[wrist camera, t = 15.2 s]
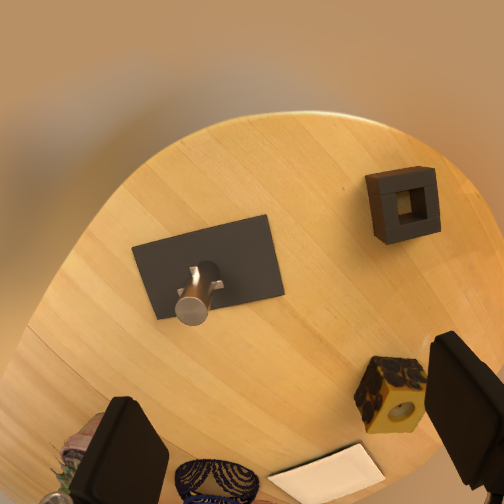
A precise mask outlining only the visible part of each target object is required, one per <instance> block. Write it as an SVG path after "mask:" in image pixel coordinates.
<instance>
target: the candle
mask: <svg viewBox="0 0 504 504" xmlns="http://www.w3.org/2000/svg"><path fill="white" fill-rule="evenodd" d="M426 384H427V374H426V373H425V370H424V369H423V367H422V365H420V364H419V363H418V361H417V360H416V359H402V358H389V357H378V356H374V357H372V359H371V361H370V364H369V365H368V367H367V370H366V372H365V374H364V377H363V378H362V381H361V383H360V385H359V387H358V389H357V391H356V394H355V395H354V400H355V403H356V406H357V408H358V410H359V412H360V414H361V416H362V421H363V422H364V424H365V429H366V433H368V434H375V433H411V432H413V431H414V430H415V428H416V426H417V425H418V423H419V422H420V420H421V418H422V417H423V415H424V413H425V412H426V410H425V406H424V399H425V392H426Z"/></svg>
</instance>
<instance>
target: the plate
mask: <svg viewBox="0 0 504 504" xmlns="http://www.w3.org/2000/svg"><path fill="white" fill-rule="evenodd" d="M268 479H269V480H271V481H272V482H273V483H274V484H276V485H277V486H278V487H280V488H281V489H282V490H284V491H285V492H286V493H288V494H289V495H290V496H292V497H293V498H295V499H296V500H297V501H299V502H300V503H302V504H323V503H326V502H329V501H332V500H335V499H337V498H340V497H343V496H346V495H348V494H351V493H354V492H356V491H359V490H361V489H364V488H366V487H369V486H371V485H373V484H376V483H378V482H380V481H383V480H384V479H385V477H384V476H383V474H382V473H381V472H380V470H379V469H378V468H377V466H376V465H375V463H374V462H373V461H372V459H371V458H370V457H369V455H368V454H367V452H366V451H365V450H364V448H363V447H362V445H361V444H355V445H353V446H350V447H348V448H346V449H344V450H341V451H339V452H336V453H334V454H332V455H329V456H327V457H324V458H321V459H319V460H316V461H314V462H311V463H308V464H305V465H303V466H300V467H297V468H294V469H291V470H288V471H285V472H282V473H279V474H275V475H272V476H270V477H268Z"/></svg>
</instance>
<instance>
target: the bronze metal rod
mask: <svg viewBox="0 0 504 504" xmlns="http://www.w3.org/2000/svg"><path fill="white" fill-rule="evenodd" d="M190 271H191V276H190V278H189V280H188V282H187V284H186V286H185V288H180V289H177V291H178V294H179V297H180V298H179V300H178V302H177V304H176V307H175V313H176V315H177V317H178V319H179V320H180V321H181V322H182V323H184V324H186V325H190V326H197V325H200V324H202V323H203V322H204V321H205V320H206V318H207V315H208V311H209V309H211V307H210V305H211V301H212V298H213V294H214V291H215V289H219V288H224V284H223V281H222V280H218V277H219V269H218V267H217V266H216V265H215V264H214V263H213V262H211V261H201V262H199V263H198V264H197V265H196V266H192V267H190Z"/></svg>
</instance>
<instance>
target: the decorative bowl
mask: <svg viewBox="0 0 504 504" xmlns="http://www.w3.org/2000/svg"><path fill="white" fill-rule="evenodd" d="M210 461H211V464H210ZM194 462H195V464H194V466H193V463H194ZM198 462H200V463H198ZM207 462H208V463H207ZM215 462H216V463H218V465H219V466H218V469H217V470H219V471H220V474H221V475H220V478H222V479H223V480H224V481H223V482H224V484H225V485H227V487H228V488H230V489H233V490H236V491H238V492H240V493H242V494H243V495H239V494H237V493H234V492H230V491H228V489H226V487H224V486H223V482H222V481H221V479H220V478H219V477H218V476H219V475H218V473H217V472H215V470H216V465H215ZM221 462H222V465H223V466H225V467H224V469H225V470H226V473H227V474H228V475H229V478H230V479H231V480H230V481H231V482H233V484H234V485H235V486H236V487H239V488H241V489H243V490H244V489H245V490H246V489H248V490H249V489H252V488H254V489H253V490H251V491H245V492H244V491H240V490H237V489H235V488H234V487H233V486H232V484H230V482H229V481H228V480H227V478H226V477H225V475H224V474H222V473H223V471H222V470H223V469H221V468H222V465H221ZM201 463H202V464H201ZM206 463H207V466H206V469H207V470H205V471H204V474H203V475H202V477H201V478H202V479H201V480H199V481H198V482H197V483H195V481H196V479H198V478H199V476H200V475H201V473H202V471H203V469H204V467H205V465H206ZM228 463H229V464H230V467H231V469H232V472H233V473H234V475H235V476H236V477H237V478H238V480H241V481H243V482H245V483H246V482H247V483H248V482H251V481H253V480H254V482H253V483H252V485H250V486H242V485H238V483H237V482H236V481H235V480H234V479H233V478H232V477H233V476H232V474H231V473H230V472H229V471H228V469H229V468H227V467H228V466H226V465H227V464H228ZM198 464H199V466H198V468H197V465H198ZM212 464H213V465H212ZM185 465H186V467H185V469H182V468H183V466H185ZM235 465H236V467H237V470H238V471H239V473H240V474H241V475H243V476H245V477H247V478H248V477H251V475H252V474H253V475H252V477H251V478H250V479H248V480H244V479H242V478H240V477H239V476H238V475H237V473H235V470H234V469H233V468H234V466H235ZM192 466H193V468H192ZM200 466H202V467H200ZM210 466H212V468H213V470H212V472H213V474H214V475H213V476H214V478H215V479H216V482H217V483H218V485H219V486H220V487H222V488H223V490H224V491H225V492H229V493H230V494H231V495H234V496H236V497H229V498H228V497H224V496H223V497H222V496H217V495H216V496H215V495H207V494H206V495H203V494H201V493H197V492H195V490H196V489H197V488H198V487H200V485H201V484H203V482H204V481H205V479H206V478H207V476H208V475H207V474H209V472H210V470H211V468H210ZM241 467H242V468H244V469H246V470H248V472H247V473H244V472H243V471H242V469H241ZM191 468H192V470H191ZM196 468H197V470H196V471H195V472H194V474H193V476H195V475H196V476H195V477H194V478H193V476H191V478H189V479H188V480H184V479H186V478H187V477H189V476H190V475H192V472H193V471H194V470H195V469H196ZM189 470H191V472H190V473H188V472H189ZM198 470H199V471H200V472H199V473H197V474H196V472H198ZM207 472H208V473H207ZM187 473H188V475H187V476H185V477H183V478H180V477H182V476H184V475H186V474H187ZM179 476H180V477H179ZM254 476H255V478H254ZM192 478H193V479H192ZM217 478H218V480H217ZM191 479H192V480H191ZM180 480H184V481H182V482H180ZM190 480H191V481H190ZM185 481H189V483H187V484H183V483H184V482H185ZM200 482H201V483H200ZM219 482H220V483H221V484H220V483H219ZM191 483H192V484H191ZM193 483H195V485H194V484H193ZM192 485H194V486H193V488H189V487H192ZM229 485H230V486H229ZM175 486H176V489H177V491H178V493H179V495H180V496H181V499H182V500H184V503H183V504H219V502H220V500H221V502H220V504H223V501H225V502H224V503H225V504H228V503H227V502H229V503H231V504H241V503H240V502H239V501H237V498H240V501H242V502H245V503H242V504H251V503H252V502H253V500H254V499H255V497H256V494H257V492H258V490H259V478H258V477H257V475H255V474H254V472H253V471H251V470H249V469H247V468H245V467H243V466H241V465H239V464H235V463H232V462H228V461H222V460H215V459H214V460H211V459H207V460H206V459H203V460H202V459H201V460H198V459H197V460H195V461H194V460H193V461H189V462H186V463H184V464H182V465H180V467H178V469H177V470H176V472H175ZM254 486H255V487H254ZM195 487H196V488H195ZM193 490H194V491H193ZM190 491H191V492H193V493H195V494H197V495H195V496H194V495H191V493H190ZM247 494H248V495H247ZM249 494H250V495H249ZM186 495H187V496H186ZM244 496H245V497H244ZM233 498H235V500H234V499H233ZM202 499H204V500H203V501H201V500H202ZM206 499H208V502H205V501H206ZM210 499H211V502H209V501H210ZM215 500H216V502H215ZM218 500H219V501H218ZM190 501H191V502H190ZM194 501H195V502H194ZM196 501H201V502H196ZM246 501H247V502H246Z"/></svg>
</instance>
